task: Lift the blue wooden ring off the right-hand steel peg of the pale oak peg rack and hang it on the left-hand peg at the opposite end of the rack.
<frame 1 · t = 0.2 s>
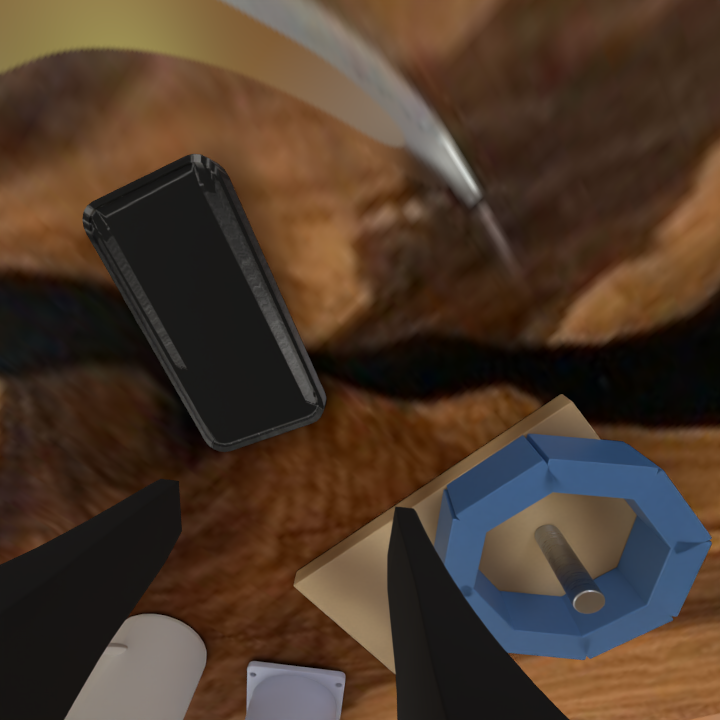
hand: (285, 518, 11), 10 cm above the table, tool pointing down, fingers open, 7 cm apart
mug: (153, 625, 28), on the table
rack: (476, 556, 24), on the table
ring: (546, 534, 22), point 1 cm above the table, touching rack
phone: (220, 318, 20), on the table
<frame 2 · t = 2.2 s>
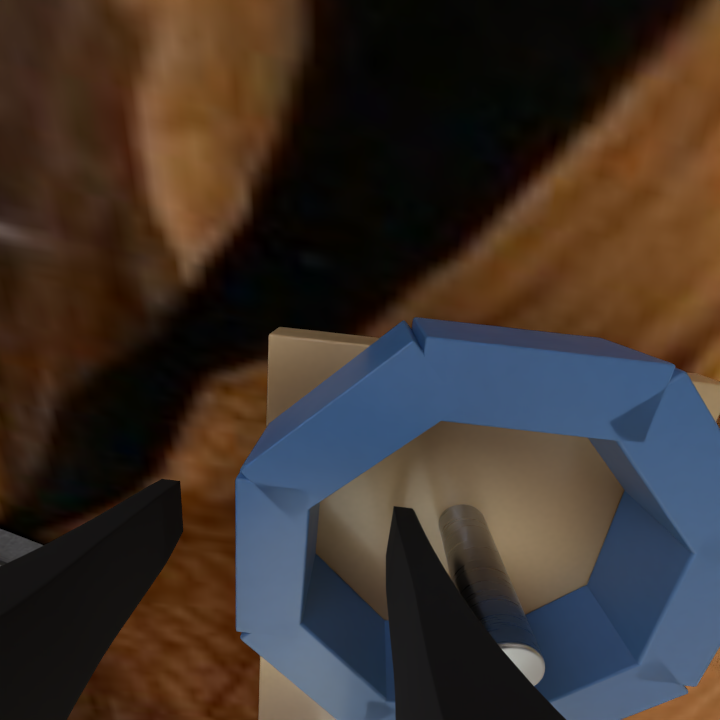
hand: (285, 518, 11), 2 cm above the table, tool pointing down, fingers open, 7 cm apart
rack: (431, 596, 15), on the table
ring: (461, 522, 12), point 1 cm above the table, touching rack
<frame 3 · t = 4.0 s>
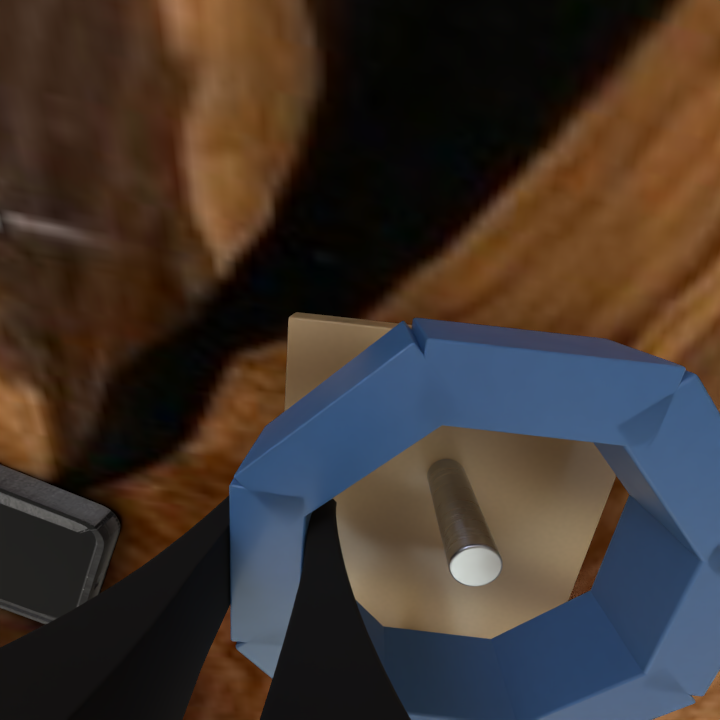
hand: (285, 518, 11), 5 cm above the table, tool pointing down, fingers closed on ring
rack: (423, 544, 17), on the table
ring: (462, 527, 12), point 4 cm above the table, touching gripper
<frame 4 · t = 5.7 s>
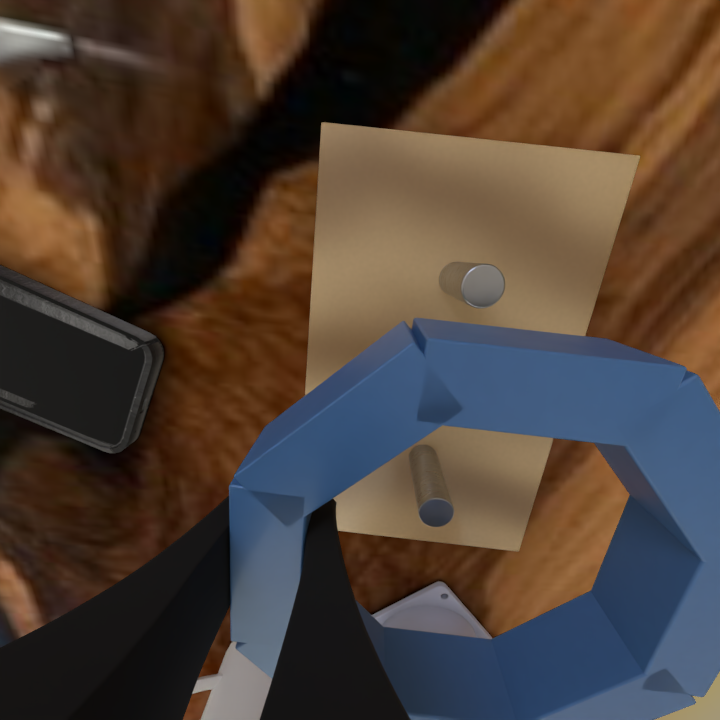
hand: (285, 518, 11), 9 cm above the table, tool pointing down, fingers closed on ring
mug: (253, 646, 27), on the table
rack: (433, 367, 19), on the table
ring: (462, 527, 12), point 9 cm above the table, touching gripper
phone: (30, 344, 20), on the table
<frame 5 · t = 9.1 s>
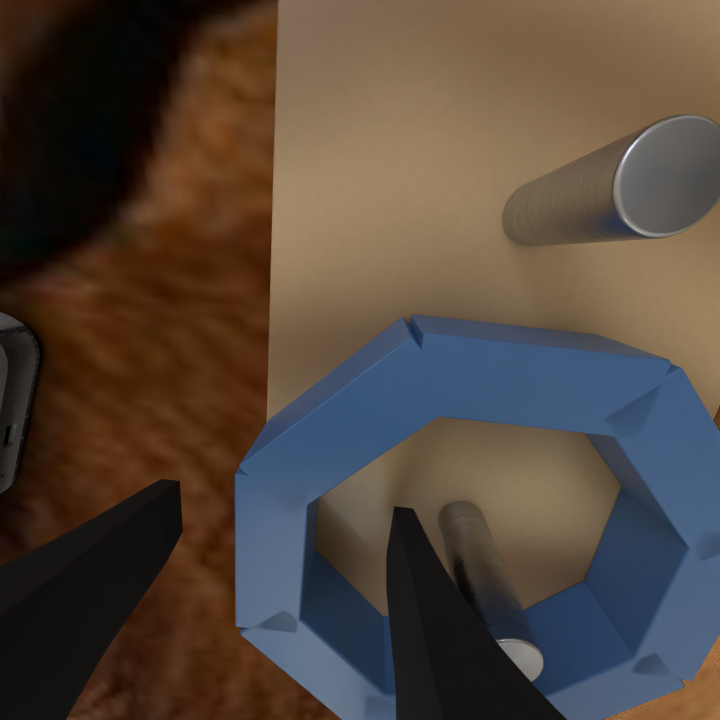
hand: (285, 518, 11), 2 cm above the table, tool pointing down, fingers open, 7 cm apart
rack: (479, 375, 12), on the table
ring: (459, 518, 12), point 1 cm above the table, touching rack
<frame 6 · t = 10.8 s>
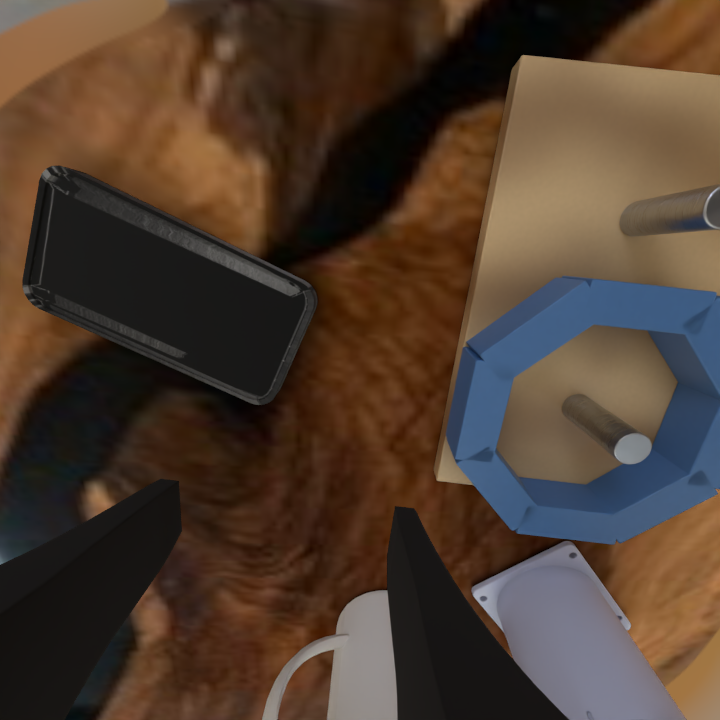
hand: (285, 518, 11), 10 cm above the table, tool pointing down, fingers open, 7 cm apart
mug: (365, 610, 27), on the table
rack: (589, 316, 19), on the table
ring: (575, 406, 19), point 1 cm above the table, touching rack
phone: (179, 294, 20), on the table
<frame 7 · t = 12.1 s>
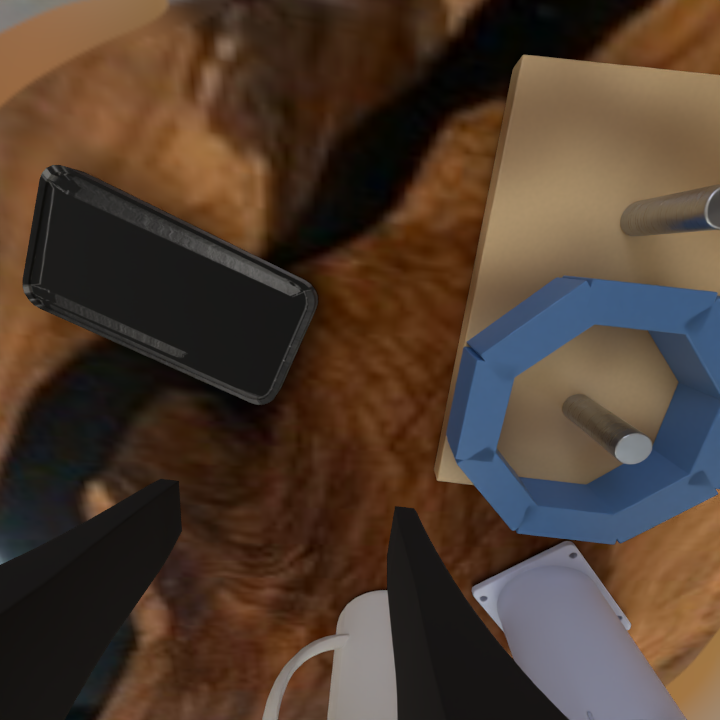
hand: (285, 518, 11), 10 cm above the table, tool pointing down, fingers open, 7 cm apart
mug: (365, 610, 27), on the table
rack: (590, 316, 19), on the table
ring: (576, 405, 19), point 1 cm above the table, touching rack
phone: (179, 294, 20), on the table
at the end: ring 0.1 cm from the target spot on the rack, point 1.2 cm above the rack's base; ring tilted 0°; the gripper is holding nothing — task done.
